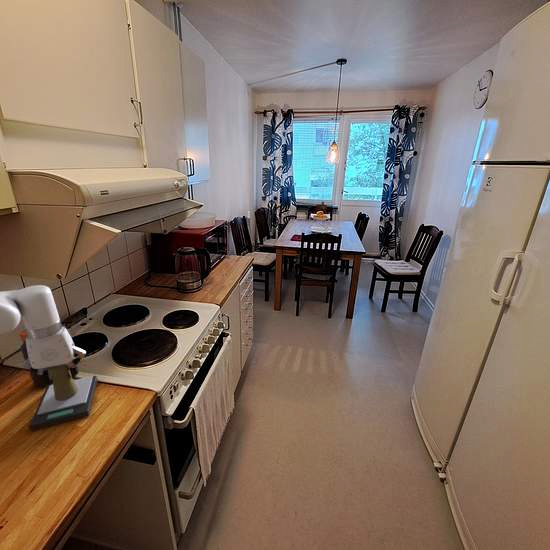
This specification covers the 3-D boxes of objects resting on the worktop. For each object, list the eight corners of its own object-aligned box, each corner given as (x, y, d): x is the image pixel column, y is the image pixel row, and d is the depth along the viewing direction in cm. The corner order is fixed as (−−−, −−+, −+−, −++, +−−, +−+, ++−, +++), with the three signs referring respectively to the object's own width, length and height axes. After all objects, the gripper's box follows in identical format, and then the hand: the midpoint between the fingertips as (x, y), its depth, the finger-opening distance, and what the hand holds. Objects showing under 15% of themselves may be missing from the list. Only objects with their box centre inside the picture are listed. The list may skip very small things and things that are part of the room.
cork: (50, 397, 87) (39, 368, 83) (69, 384, 93) (60, 356, 88) (64, 403, 85) (54, 374, 81) (82, 389, 91) (74, 361, 87)
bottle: (42, 390, 93) (23, 338, 86) (29, 384, 96) (9, 333, 88) (63, 376, 99) (47, 327, 92) (50, 371, 102) (34, 323, 94)
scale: (31, 431, 79) (28, 424, 78) (48, 391, 93) (46, 385, 92) (89, 416, 84) (87, 409, 83) (97, 379, 98) (96, 374, 97)
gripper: (0, 342, 74) (22, 395, 81) (78, 329, 80) (92, 379, 87) (12, 327, 80) (32, 378, 87) (83, 316, 86) (96, 364, 93)
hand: (62, 378), depth 87 cm, fingers open, 6 cm apart
